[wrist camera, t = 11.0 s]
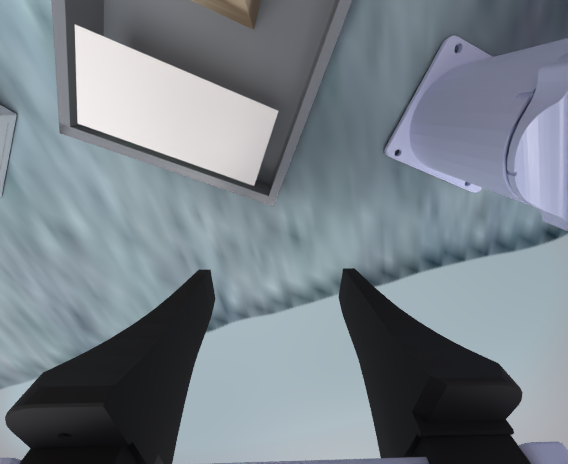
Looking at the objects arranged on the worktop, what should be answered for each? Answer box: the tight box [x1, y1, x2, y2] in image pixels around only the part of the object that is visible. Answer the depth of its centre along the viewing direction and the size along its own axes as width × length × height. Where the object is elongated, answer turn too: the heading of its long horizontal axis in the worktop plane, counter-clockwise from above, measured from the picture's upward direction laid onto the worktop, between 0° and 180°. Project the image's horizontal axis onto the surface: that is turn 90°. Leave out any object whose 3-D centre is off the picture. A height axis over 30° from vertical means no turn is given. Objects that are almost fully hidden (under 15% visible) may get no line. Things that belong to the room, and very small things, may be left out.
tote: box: [52, 0, 352, 206], centre depth 13 cm, size 14×18×4 cm
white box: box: [75, 25, 278, 186], centre depth 15 cm, size 10×5×4 cm, turn 69°
